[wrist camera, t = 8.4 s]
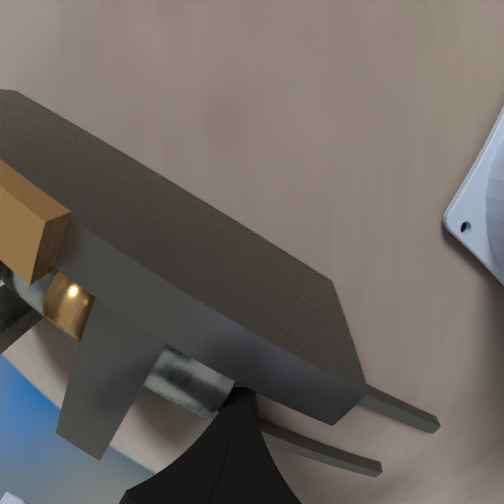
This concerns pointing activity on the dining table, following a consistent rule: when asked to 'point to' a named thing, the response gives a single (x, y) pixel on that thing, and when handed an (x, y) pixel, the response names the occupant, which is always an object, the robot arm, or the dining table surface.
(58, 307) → the tube
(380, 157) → the dining table surface
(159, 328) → the collar fixture
